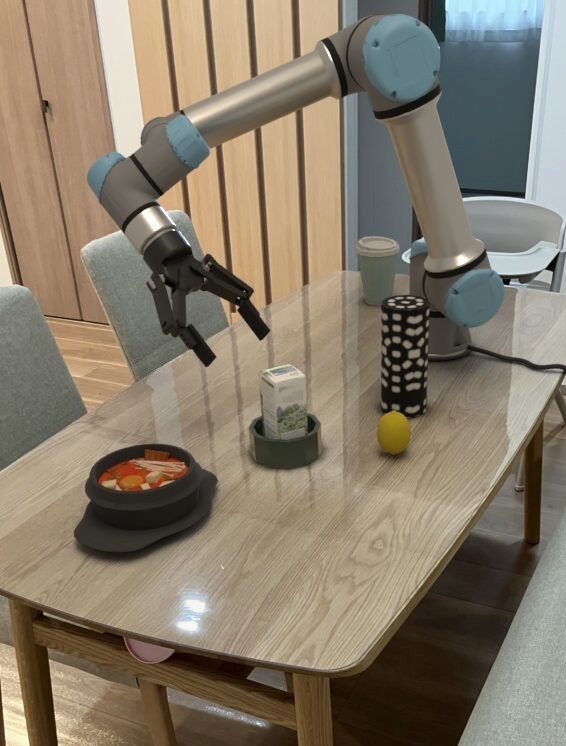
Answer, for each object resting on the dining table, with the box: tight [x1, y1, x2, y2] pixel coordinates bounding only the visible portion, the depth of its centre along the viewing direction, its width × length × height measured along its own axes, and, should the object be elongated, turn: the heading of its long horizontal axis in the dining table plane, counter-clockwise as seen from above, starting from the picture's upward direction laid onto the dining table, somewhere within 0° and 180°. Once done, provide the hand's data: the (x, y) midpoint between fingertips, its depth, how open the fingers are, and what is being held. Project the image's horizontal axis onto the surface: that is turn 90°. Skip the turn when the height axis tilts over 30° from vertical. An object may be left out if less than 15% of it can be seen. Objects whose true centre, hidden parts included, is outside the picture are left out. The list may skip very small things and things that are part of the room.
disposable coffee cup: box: [355, 235, 400, 306], centre depth 201 cm, size 11×11×15 cm
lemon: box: [376, 411, 412, 456], centre depth 135 cm, size 6×6×8 cm
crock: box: [248, 412, 323, 470], centre depth 138 cm, size 12×12×5 cm
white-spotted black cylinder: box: [380, 294, 430, 419], centre depth 147 cm, size 8×8×20 cm
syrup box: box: [258, 363, 308, 440], centre depth 135 cm, size 6×6×14 cm
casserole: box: [73, 443, 219, 553], centre depth 121 cm, size 25×19×8 cm
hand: (239, 348), depth 134 cm, fingers open, 13 cm apart
